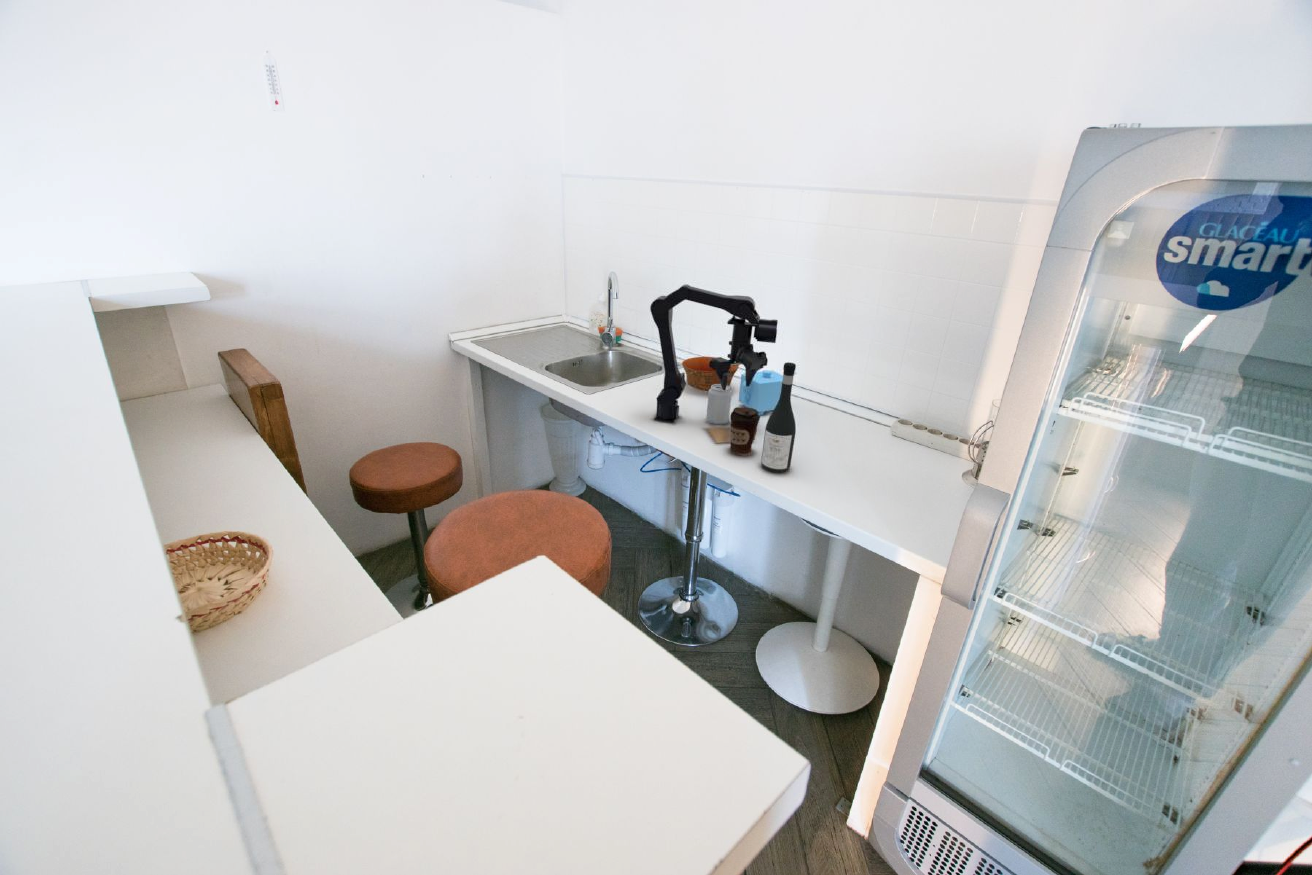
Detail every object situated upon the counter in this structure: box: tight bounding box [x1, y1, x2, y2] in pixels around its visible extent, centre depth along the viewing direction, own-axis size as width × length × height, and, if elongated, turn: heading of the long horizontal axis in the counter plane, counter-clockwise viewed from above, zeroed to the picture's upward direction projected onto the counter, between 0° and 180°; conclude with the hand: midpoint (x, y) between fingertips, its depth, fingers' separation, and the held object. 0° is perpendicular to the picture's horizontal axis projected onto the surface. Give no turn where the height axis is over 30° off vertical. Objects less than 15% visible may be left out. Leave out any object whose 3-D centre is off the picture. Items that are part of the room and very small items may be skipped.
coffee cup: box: [729, 406, 761, 456], centre depth 166 cm, size 9×8×13 cm
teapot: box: [737, 369, 797, 416], centre depth 200 cm, size 22×11×14 cm, turn 115°
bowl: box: [681, 356, 740, 392], centre depth 217 cm, size 21×21×10 cm
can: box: [705, 384, 733, 425], centre depth 187 cm, size 8×8×12 cm
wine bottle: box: [760, 361, 797, 473], centre depth 154 cm, size 8×8×30 cm
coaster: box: [706, 427, 731, 444], centre depth 179 cm, size 11×11×1 cm
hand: (735, 388), depth 181 cm, fingers open, 9 cm apart
